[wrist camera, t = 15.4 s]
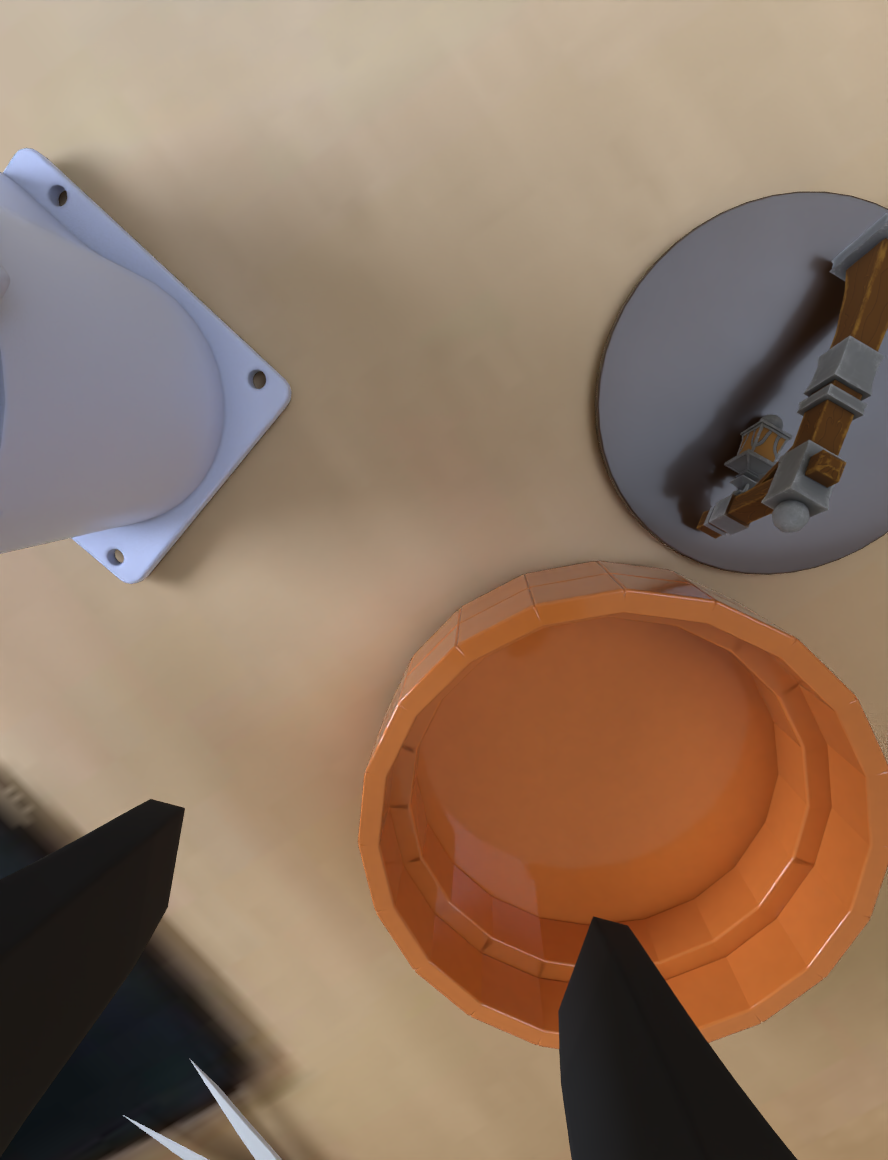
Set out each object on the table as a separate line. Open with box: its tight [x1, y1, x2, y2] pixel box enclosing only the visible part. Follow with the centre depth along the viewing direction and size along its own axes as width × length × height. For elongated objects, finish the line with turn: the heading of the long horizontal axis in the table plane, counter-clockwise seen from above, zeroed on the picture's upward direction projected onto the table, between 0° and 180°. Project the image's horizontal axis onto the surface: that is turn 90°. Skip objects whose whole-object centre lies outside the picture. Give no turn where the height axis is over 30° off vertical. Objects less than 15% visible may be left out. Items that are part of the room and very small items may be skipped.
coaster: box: [595, 192, 888, 574], centre depth 17 cm, size 10×10×1 cm
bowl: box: [358, 561, 888, 1049], centre depth 18 cm, size 14×14×4 cm
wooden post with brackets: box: [697, 212, 888, 539], centre depth 15 cm, size 2×8×4 cm, turn 152°
